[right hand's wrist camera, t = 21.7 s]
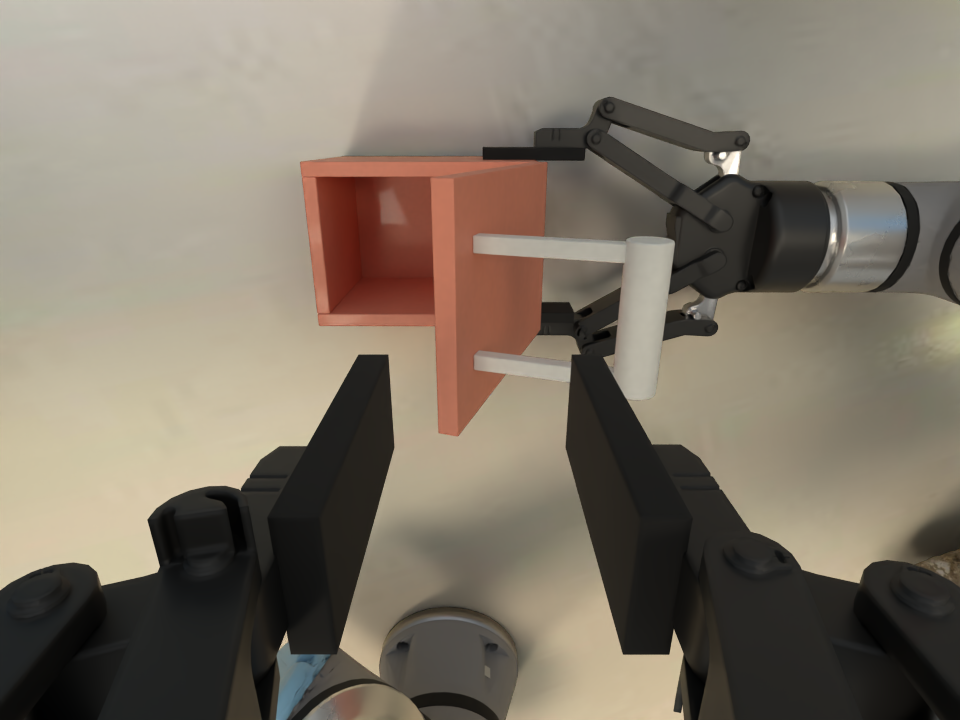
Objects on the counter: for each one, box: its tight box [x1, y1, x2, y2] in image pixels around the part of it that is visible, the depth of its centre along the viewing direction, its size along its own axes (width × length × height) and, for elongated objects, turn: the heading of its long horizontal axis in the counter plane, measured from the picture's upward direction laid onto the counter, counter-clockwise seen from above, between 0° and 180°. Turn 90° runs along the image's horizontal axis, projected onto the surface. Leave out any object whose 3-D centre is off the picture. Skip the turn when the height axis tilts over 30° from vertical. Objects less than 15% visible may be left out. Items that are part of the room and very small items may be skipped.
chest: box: [300, 156, 538, 326], centre depth 40 cm, size 14×10×11 cm
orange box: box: [431, 162, 675, 436], centre depth 26 cm, size 15×10×8 cm
